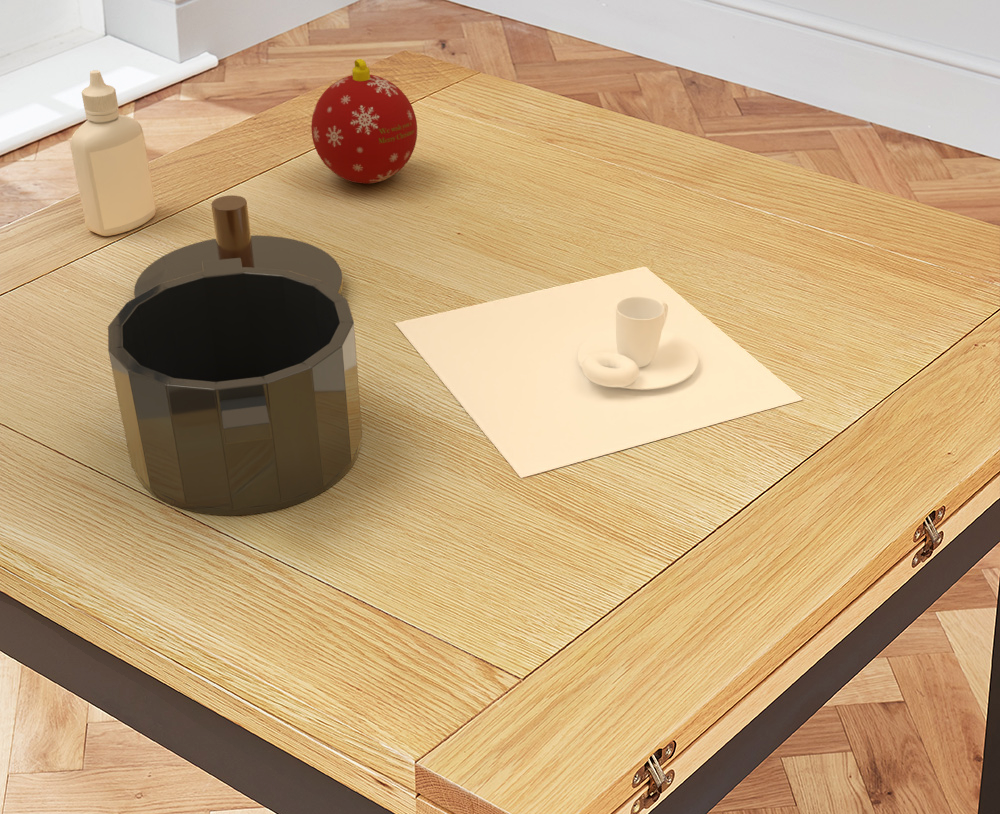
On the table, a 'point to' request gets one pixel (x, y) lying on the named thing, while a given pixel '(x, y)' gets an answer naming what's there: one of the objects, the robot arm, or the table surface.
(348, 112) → the christmas ornament
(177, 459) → the dark grey open cylinder
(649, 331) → the teacup and saucer
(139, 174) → the eye dropper bottle
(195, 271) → the lid
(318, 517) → the table surface
